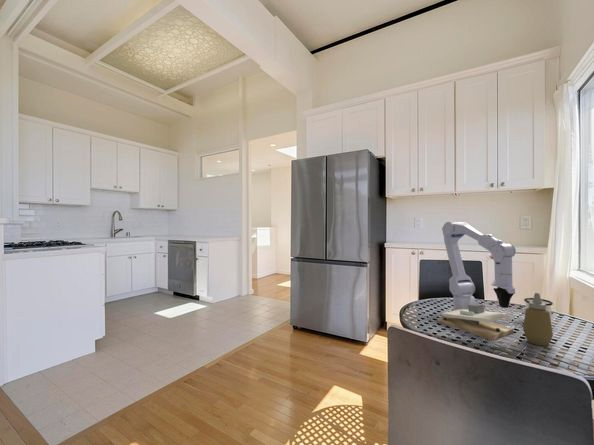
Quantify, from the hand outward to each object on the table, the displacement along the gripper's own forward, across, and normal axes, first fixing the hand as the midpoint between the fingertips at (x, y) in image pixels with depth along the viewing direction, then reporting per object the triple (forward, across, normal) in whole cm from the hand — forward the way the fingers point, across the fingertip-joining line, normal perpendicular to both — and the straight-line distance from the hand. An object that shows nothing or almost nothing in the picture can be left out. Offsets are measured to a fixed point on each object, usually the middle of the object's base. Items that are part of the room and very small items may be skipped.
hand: (503, 307), depth 111 cm
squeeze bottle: (+10, +10, +6) cm, 15 cm away
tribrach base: (+9, -1, -10) cm, 14 cm away
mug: (+10, -14, +17) cm, 24 cm away
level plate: (+4, -1, -10) cm, 11 cm away
